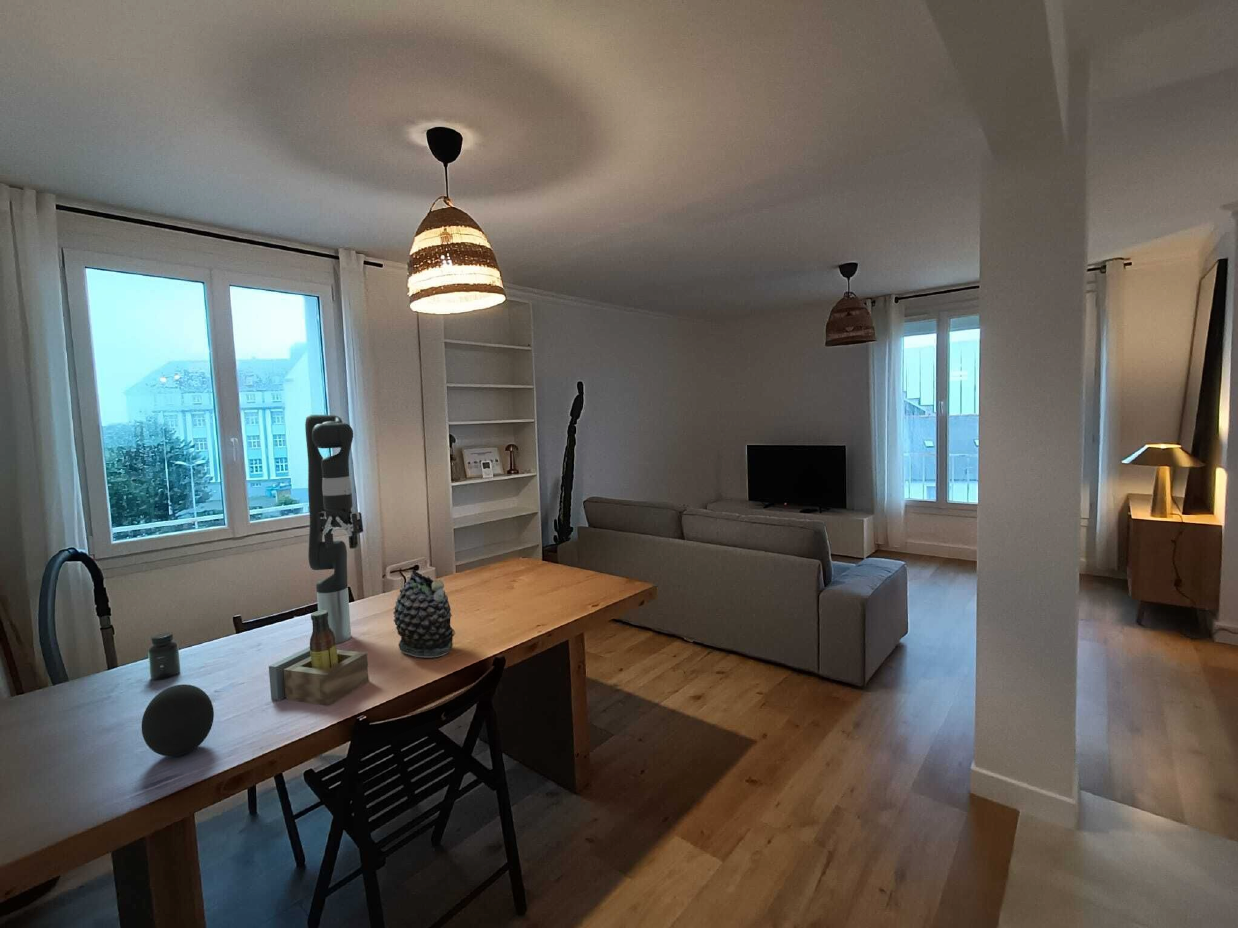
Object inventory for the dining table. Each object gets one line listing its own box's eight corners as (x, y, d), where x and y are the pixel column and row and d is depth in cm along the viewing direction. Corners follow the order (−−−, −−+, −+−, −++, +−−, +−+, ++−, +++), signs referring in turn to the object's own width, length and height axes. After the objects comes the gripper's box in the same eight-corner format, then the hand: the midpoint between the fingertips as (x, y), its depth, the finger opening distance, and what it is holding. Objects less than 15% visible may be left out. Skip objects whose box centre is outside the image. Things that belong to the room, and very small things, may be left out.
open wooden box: (286, 699, 146) (283, 669, 146) (328, 675, 160) (326, 648, 159) (328, 705, 142) (326, 674, 142) (368, 680, 156) (366, 652, 155)
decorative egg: (223, 750, 124) (217, 684, 123) (151, 777, 114) (144, 706, 113) (208, 731, 132) (203, 669, 131) (140, 755, 123) (133, 688, 122)
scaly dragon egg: (467, 647, 177) (463, 569, 175) (429, 666, 164) (424, 582, 162) (422, 636, 188) (418, 563, 186) (383, 653, 175) (378, 574, 173)
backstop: (271, 699, 147) (268, 665, 146) (320, 672, 162) (318, 642, 161) (278, 700, 146) (275, 666, 145) (327, 673, 161) (324, 643, 160)
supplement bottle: (145, 682, 160) (141, 641, 159) (158, 672, 166) (154, 632, 165) (173, 678, 162) (169, 637, 161) (185, 668, 168) (181, 629, 167)
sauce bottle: (333, 676, 156) (328, 606, 154) (344, 682, 152) (338, 610, 150) (308, 685, 151) (303, 613, 149) (318, 691, 147) (313, 617, 145)
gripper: (307, 494, 161) (311, 549, 163) (347, 494, 157) (351, 551, 158) (327, 490, 168) (332, 543, 170) (366, 491, 164) (370, 545, 166)
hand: (341, 547), depth 164 cm, fingers open, 8 cm apart
